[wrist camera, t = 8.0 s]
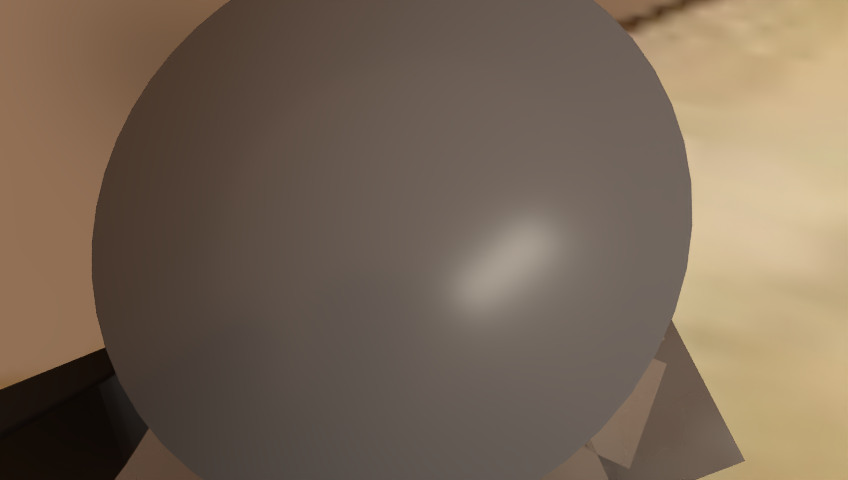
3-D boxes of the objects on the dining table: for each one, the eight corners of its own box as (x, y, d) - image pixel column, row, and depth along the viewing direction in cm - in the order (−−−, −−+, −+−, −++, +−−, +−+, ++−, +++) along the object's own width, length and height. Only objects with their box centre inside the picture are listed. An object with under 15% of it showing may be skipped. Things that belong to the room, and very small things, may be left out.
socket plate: (167, 675, 18) (108, 716, 16) (107, 362, 21) (51, 356, 19) (736, 458, 17) (768, 466, 14) (581, 159, 20) (586, 124, 18)
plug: (454, 464, 18) (158, 635, 4) (399, 312, 19) (52, 78, 6) (610, 402, 17) (834, 372, 4) (540, 253, 19) (525, -146, 5)
